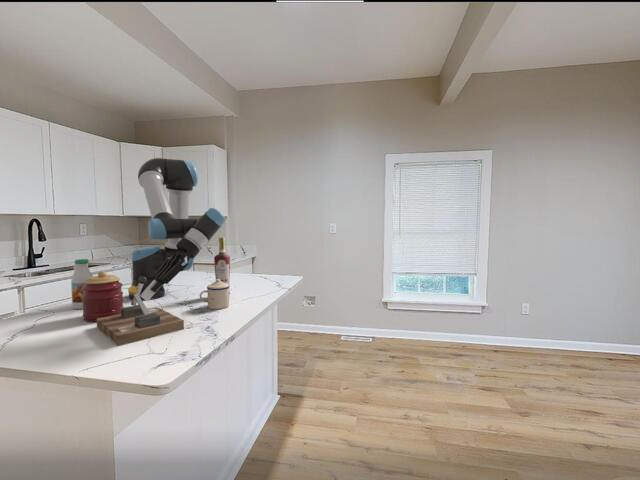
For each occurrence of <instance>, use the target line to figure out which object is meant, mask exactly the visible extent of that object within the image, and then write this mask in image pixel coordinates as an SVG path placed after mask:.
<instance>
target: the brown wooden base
mask: <svg viewBox="0 0 640 480" xmlns="http://www.w3.org/2000/svg"><path fill="white" fill-rule="evenodd" d="M146 309H147V311H148V312H149V313H148V314H147V315H144V314H143V312H142V310H141V308H140V306H139V305H138V304H136V306H133V305H130V306H125V307H124V306H123V308H121V314H118V315H113V316H108V317H103V318H98V319H96V320H97V322H96V328H97V329H98V330H99V331H101V332H102V333H103V334H104V335H105V336H106V337H107V338H108V339H110V341H112V342H113V343H114V344H116V345H117V346H118V347H119V346H122V345H126V344H130V343H134V342H137V341H138V342H139V341H142V340H145V339H149V338H154V337H157V336H161V335H165V334H169V333H172V332H173V333H174V332H177V331H181V330H184V329H185V321H184V319H182V318H180V317H178V316H176V315H174V314H172V313H170V312H168V311H166V310H164V309H162V308H159V307H158V306H156V307H151V308H150V307H149V308H146Z"/></svg>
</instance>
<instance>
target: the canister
mask: <svg viewBox="0 0 640 480" xmlns="http://www.w3.org/2000/svg"><path fill="white" fill-rule="evenodd" d="M120 280H121V278H120V277H118V276H116V275H113V274H107V272H106V271H104V270H100V271H98V273H97V275H94V276H93V277H89V278H88V279H87V280H85V281H84V283H86V284H85V286H83V287H82V288H81V289H82V290H83V296H82V299H83V309H82V317H83V320H84V321H86V322H91V323H92V322H93V323H95V322H96V323H97V320H96V319H98V318H103V317H108V316H113V315H118V314H121V308H124V301H123V299H124V297H123V295H124V292H123V291H122V286H123V283H121V281H120Z"/></svg>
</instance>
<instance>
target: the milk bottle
mask: <svg viewBox="0 0 640 480" xmlns="http://www.w3.org/2000/svg"><path fill="white" fill-rule="evenodd" d="M74 266H75V268H74V269H75V270H74V272H73V273H72V277H71V285H70V286H71V303H72V304H71V305H72V306H71V307H72V309H75V310H83V299H82V296H83V290H82V289H81V288H82V287H83V286H85V284H86V283H84V281H85V280H87V279H88V278H89V277H93V273H92V272H91V270H90V269H89V268H90V267H89V259H88V258H81V259H80V258H79V259H75V260H74Z"/></svg>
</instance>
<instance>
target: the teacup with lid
mask: <svg viewBox="0 0 640 480" xmlns="http://www.w3.org/2000/svg"><path fill="white" fill-rule="evenodd" d="M206 289H207V290H203V291H201V292H200V293H199V299H200V301H201V302H203V303H207V308H208V309H210V310H223V309H227V308H229V306H230V294H229V292H230V284H229V285H228V284H226V283H224V282H221V280H220V279H217V280H216V279H215V281H214V282H212V283H211V284H208V285H207V287H206ZM204 293H207V300H204V299H203V297H202V295H203V294H204Z"/></svg>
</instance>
